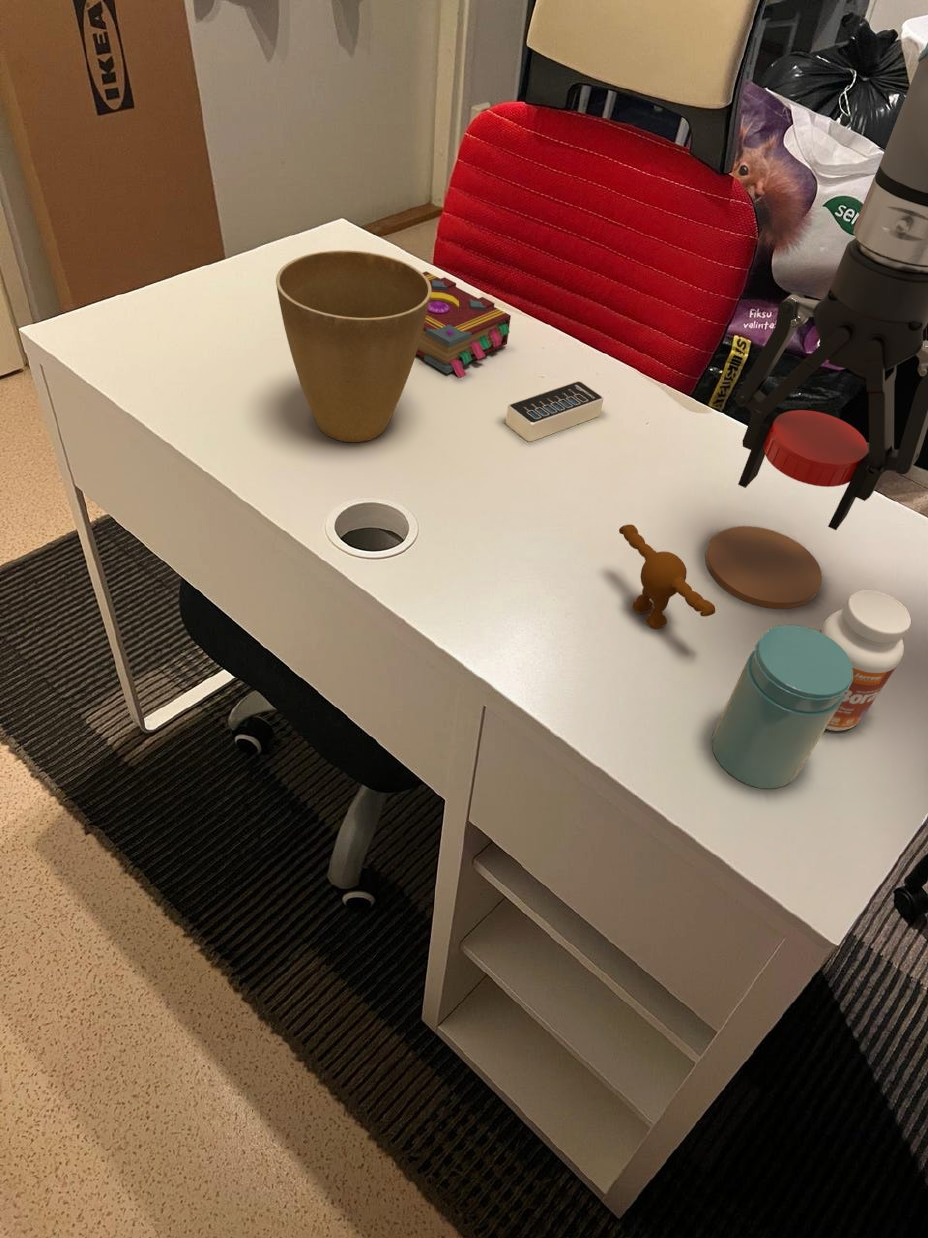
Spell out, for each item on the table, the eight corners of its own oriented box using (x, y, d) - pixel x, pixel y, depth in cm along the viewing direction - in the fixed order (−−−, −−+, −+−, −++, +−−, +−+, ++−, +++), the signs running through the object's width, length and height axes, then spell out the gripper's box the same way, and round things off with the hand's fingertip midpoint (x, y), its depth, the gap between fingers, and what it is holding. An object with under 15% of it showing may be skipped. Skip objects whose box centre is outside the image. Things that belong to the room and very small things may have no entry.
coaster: (842, 594, 86) (846, 588, 85) (749, 620, 82) (752, 613, 81) (772, 523, 92) (775, 517, 92) (683, 544, 89) (685, 537, 88)
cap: (827, 429, 82) (837, 407, 80) (875, 483, 76) (887, 461, 75) (747, 434, 80) (755, 412, 78) (790, 490, 74) (800, 468, 73)
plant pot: (394, 477, 92) (400, 332, 81) (260, 442, 94) (248, 295, 83) (439, 405, 102) (451, 267, 91) (318, 374, 104) (314, 236, 93)
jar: (818, 772, 70) (877, 680, 63) (747, 800, 68) (799, 708, 60) (762, 706, 75) (811, 613, 67) (694, 731, 72) (736, 636, 64)
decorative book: (424, 301, 119) (427, 264, 116) (515, 351, 112) (521, 313, 109) (360, 326, 113) (361, 288, 110) (452, 380, 106) (456, 341, 103)
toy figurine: (708, 653, 78) (732, 597, 74) (675, 666, 77) (697, 609, 72) (627, 567, 85) (644, 511, 81) (595, 578, 84) (610, 521, 79)
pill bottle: (819, 742, 72) (876, 649, 65) (772, 686, 76) (821, 592, 68) (877, 721, 75) (939, 629, 67) (829, 668, 78) (882, 575, 71)
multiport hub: (503, 422, 101) (506, 404, 99) (575, 397, 106) (579, 379, 104) (528, 442, 99) (532, 424, 97) (601, 415, 104) (605, 397, 102)
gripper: (749, 219, 67) (670, 469, 83) (1039, 319, 59) (890, 574, 75) (787, 193, 71) (706, 436, 87) (1062, 284, 64) (917, 531, 80)
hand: (791, 499), depth 81 cm, fingers closed on cap, 8 cm apart
